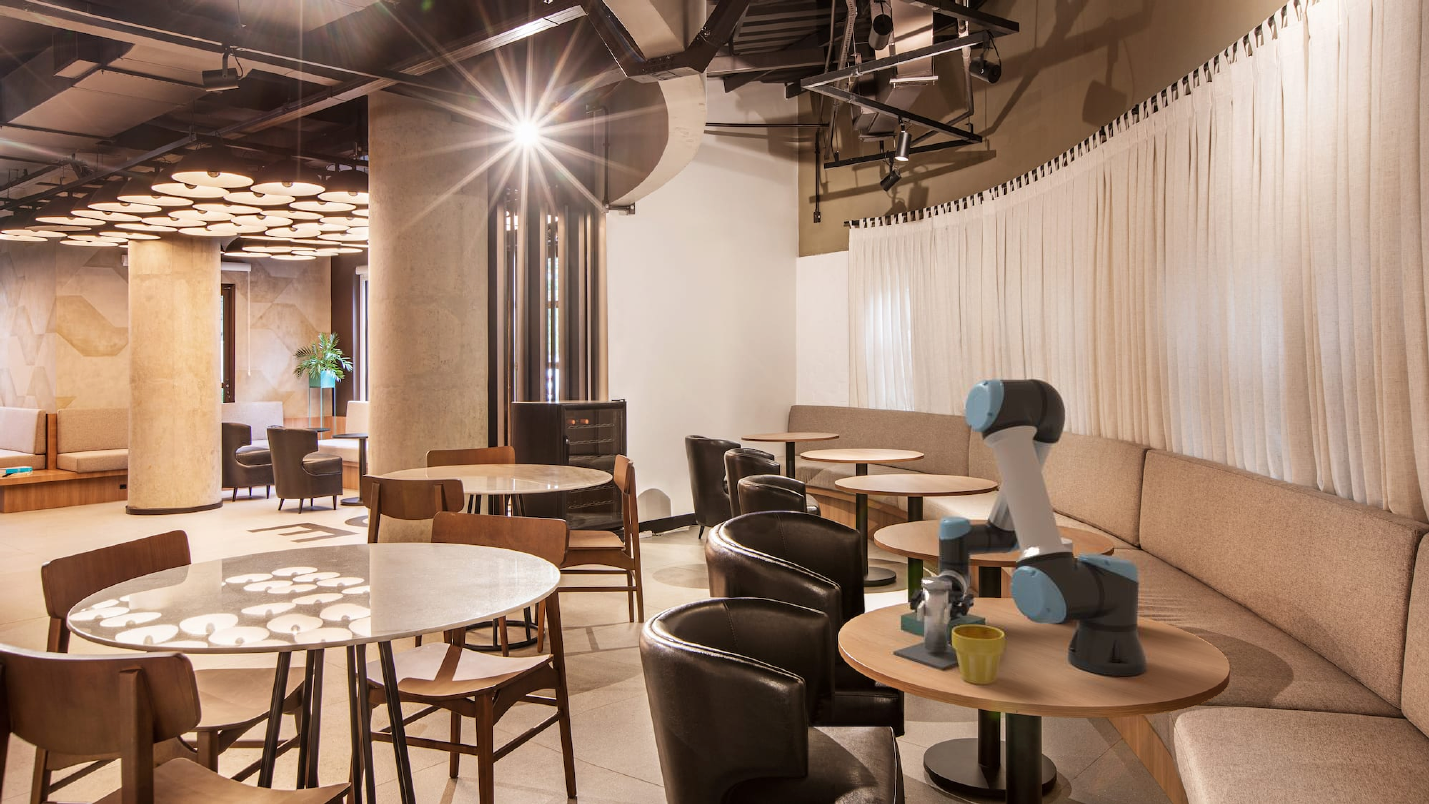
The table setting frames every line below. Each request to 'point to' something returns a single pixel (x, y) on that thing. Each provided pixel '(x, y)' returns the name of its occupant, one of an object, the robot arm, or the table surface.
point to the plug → (935, 613)
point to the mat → (929, 656)
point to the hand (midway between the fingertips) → (932, 615)
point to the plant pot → (978, 652)
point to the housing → (917, 627)
